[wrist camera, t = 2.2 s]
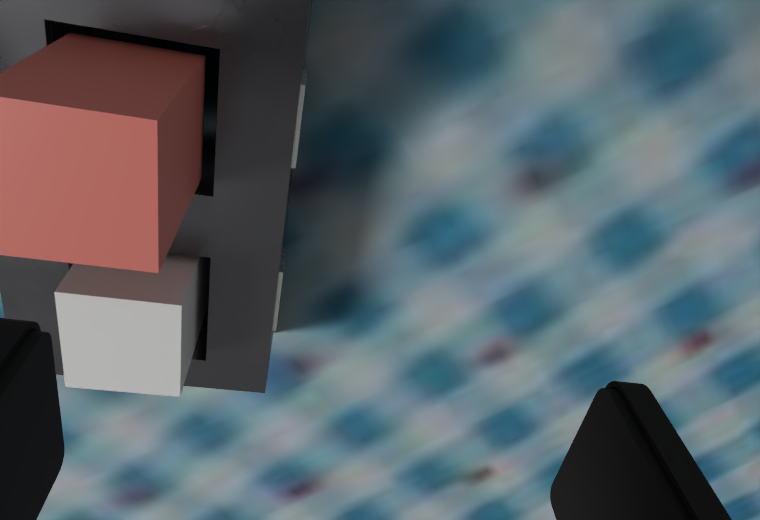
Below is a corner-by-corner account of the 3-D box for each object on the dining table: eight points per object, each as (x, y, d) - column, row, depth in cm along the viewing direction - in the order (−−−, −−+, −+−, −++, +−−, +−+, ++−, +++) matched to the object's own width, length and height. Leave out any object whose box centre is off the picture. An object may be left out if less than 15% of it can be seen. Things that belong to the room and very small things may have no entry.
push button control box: (-60, -626, 14) (-187, -786, 11) (375, -491, 15) (386, -595, 12) (53, 310, 28) (14, 370, 24) (276, 333, 29) (268, 393, 26)
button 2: (69, 32, 18) (-34, 92, 13) (205, 55, 19) (157, 120, 14) (80, 161, 20) (-6, 254, 15) (201, 178, 21) (158, 272, 16)
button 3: (112, 206, 25) (54, 291, 20) (212, 219, 25) (181, 305, 20) (116, 290, 27) (65, 386, 22) (209, 300, 27) (180, 396, 22)
